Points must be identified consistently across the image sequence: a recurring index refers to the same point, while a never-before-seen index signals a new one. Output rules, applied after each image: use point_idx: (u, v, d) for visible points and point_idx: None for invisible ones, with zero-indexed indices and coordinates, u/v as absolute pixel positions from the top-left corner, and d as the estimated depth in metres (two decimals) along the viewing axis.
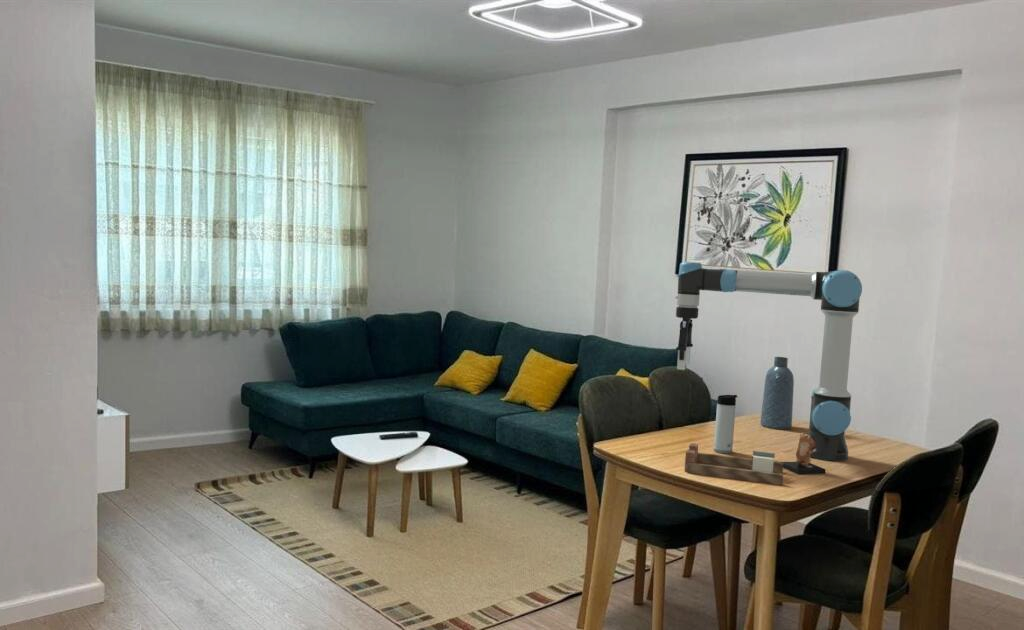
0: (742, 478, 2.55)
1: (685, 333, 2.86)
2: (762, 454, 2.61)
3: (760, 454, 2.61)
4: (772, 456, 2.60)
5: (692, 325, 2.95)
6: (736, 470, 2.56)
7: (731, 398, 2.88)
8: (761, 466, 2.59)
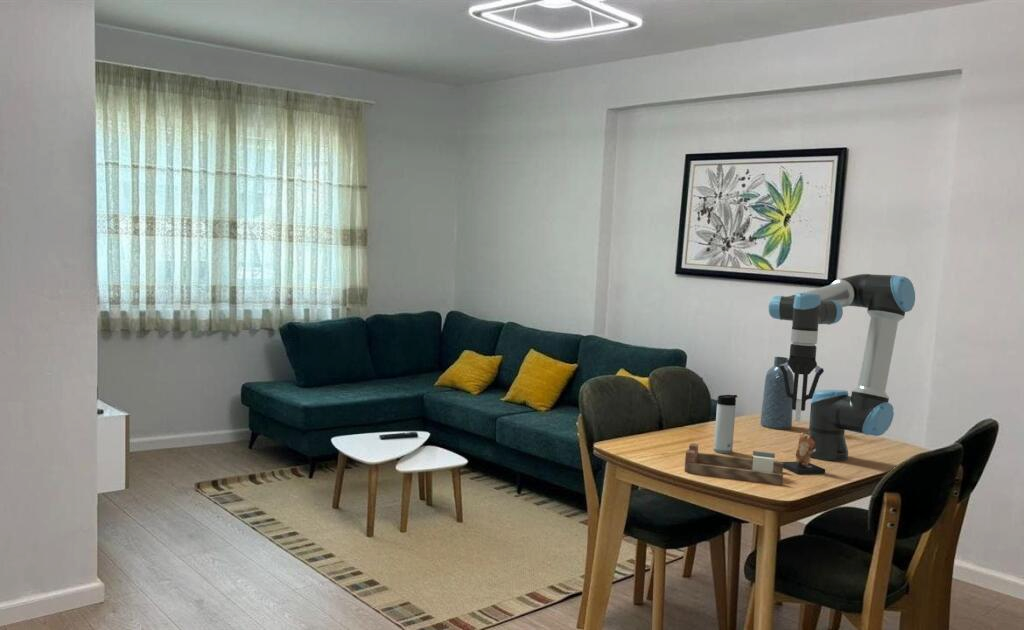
0: (742, 478, 2.55)
1: None
2: (762, 454, 2.61)
3: (760, 454, 2.61)
4: (772, 456, 2.60)
5: (807, 367, 2.54)
6: (736, 470, 2.56)
7: (731, 398, 2.88)
8: (761, 466, 2.59)
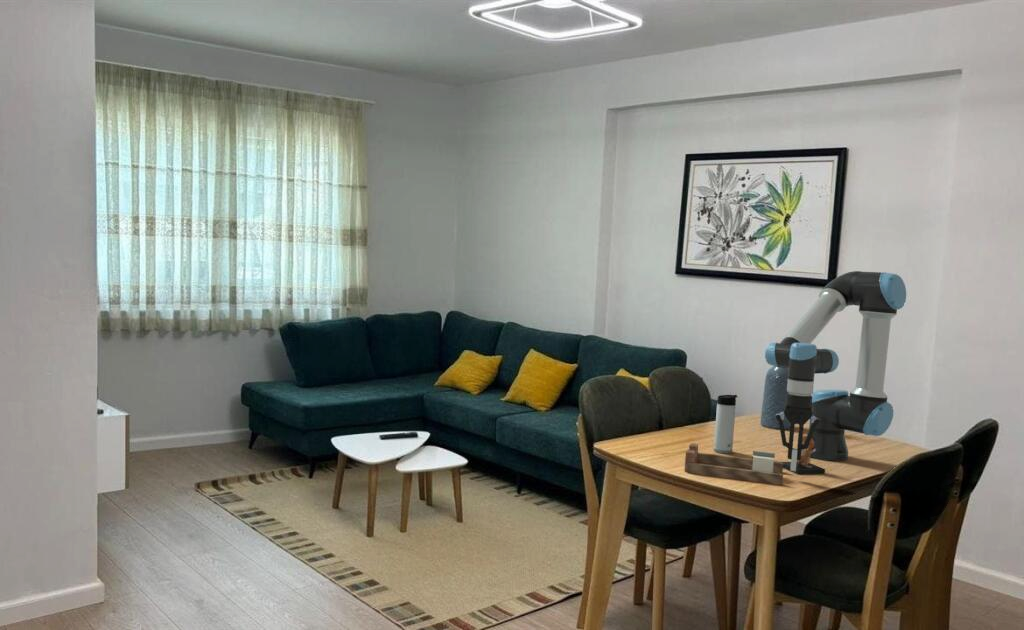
0: (742, 478, 2.55)
1: None
2: (762, 454, 2.61)
3: (760, 454, 2.61)
4: (772, 456, 2.60)
5: (803, 417, 2.55)
6: (736, 470, 2.56)
7: (731, 398, 2.88)
8: (761, 466, 2.59)
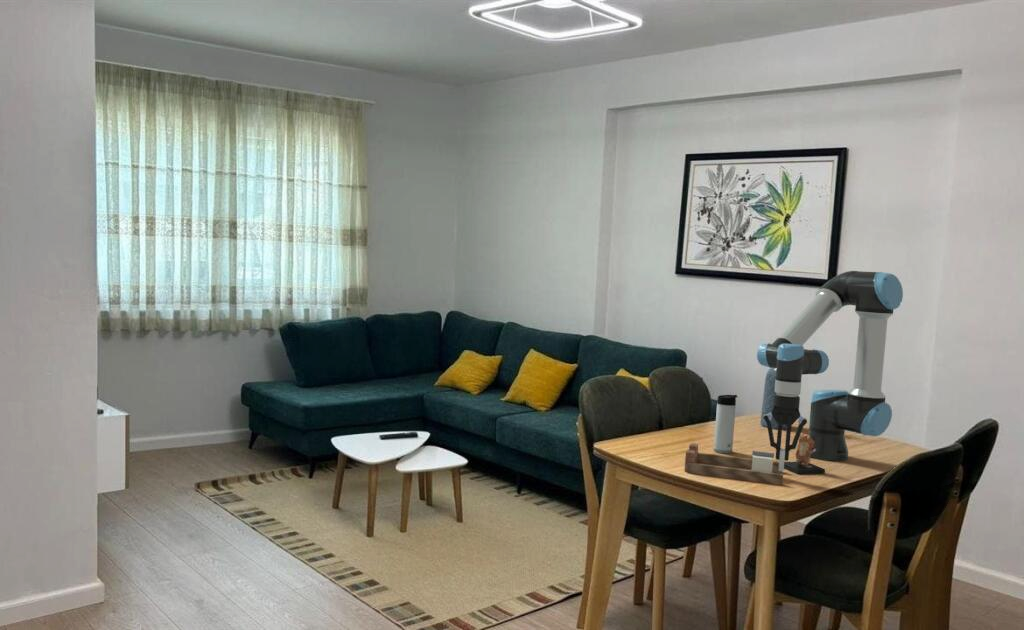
0: (742, 478, 2.55)
1: None
2: (761, 454, 2.61)
3: (759, 454, 2.61)
4: (771, 456, 2.60)
5: (790, 418, 2.56)
6: (736, 470, 2.56)
7: (731, 398, 2.88)
8: (760, 466, 2.59)
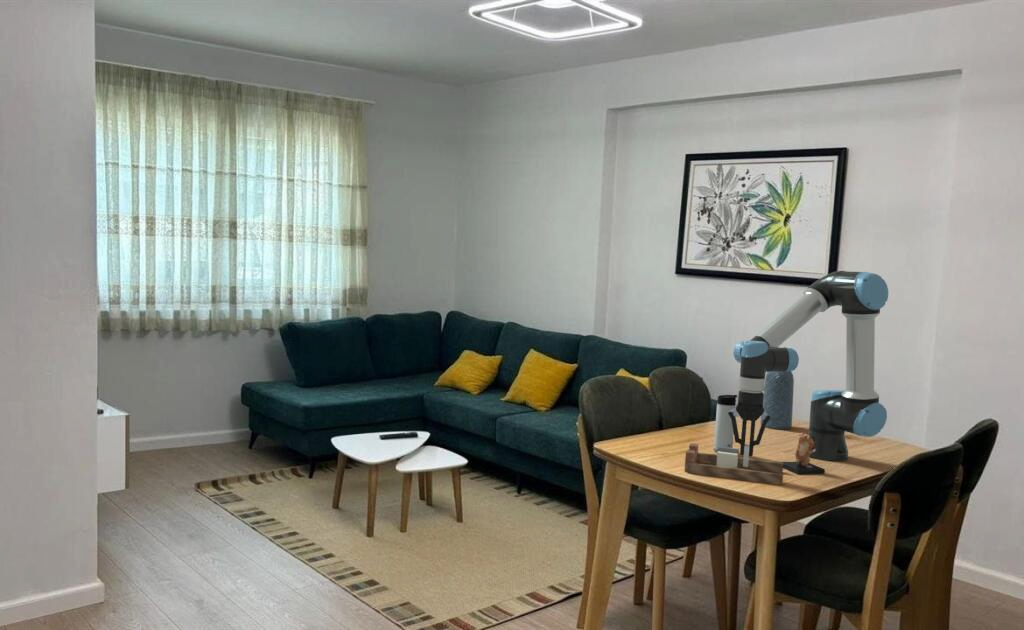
0: (742, 478, 2.55)
1: (732, 425, 2.63)
2: (726, 450, 2.64)
3: (724, 450, 2.64)
4: (736, 452, 2.63)
5: (754, 414, 2.60)
6: (736, 470, 2.56)
7: (731, 398, 2.88)
8: (725, 462, 2.62)
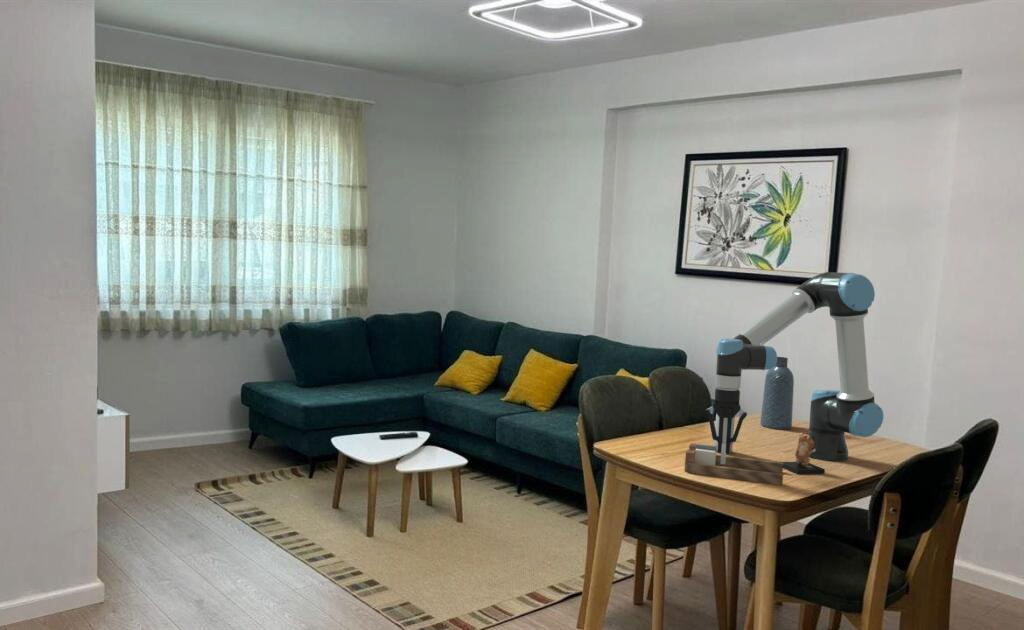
0: (742, 478, 2.55)
1: (709, 422, 2.65)
2: (704, 447, 2.66)
3: (702, 447, 2.66)
4: (714, 449, 2.65)
5: (731, 411, 2.62)
6: (736, 470, 2.56)
7: None
8: (702, 459, 2.64)
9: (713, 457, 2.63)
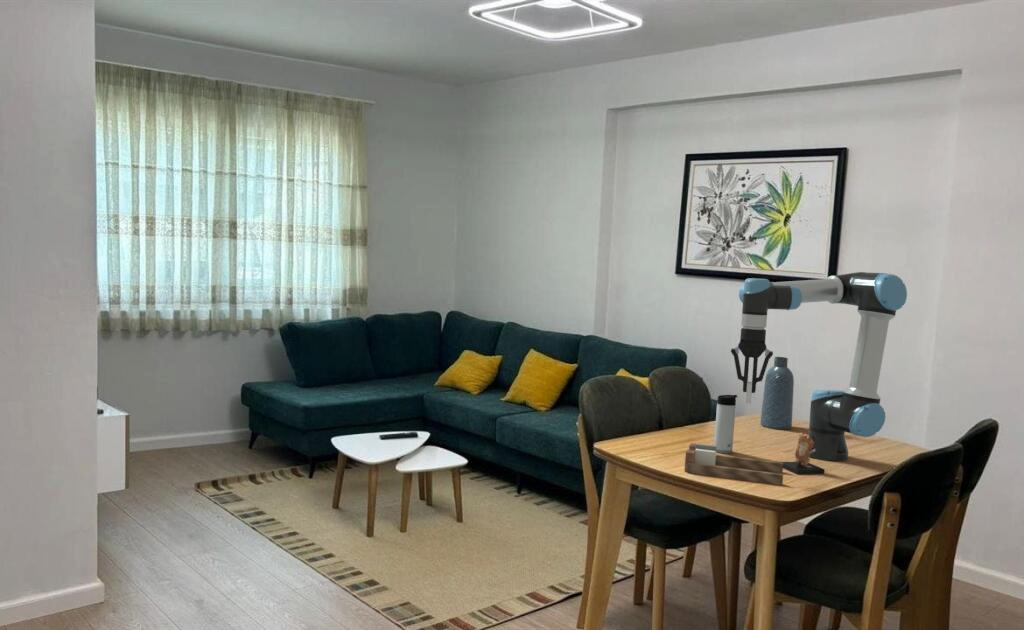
0: (742, 478, 2.55)
1: (735, 362, 2.65)
2: (704, 447, 2.66)
3: (702, 447, 2.66)
4: (714, 449, 2.65)
5: (757, 351, 2.61)
6: (736, 470, 2.56)
7: (731, 398, 2.88)
8: (702, 459, 2.64)
9: (713, 457, 2.63)
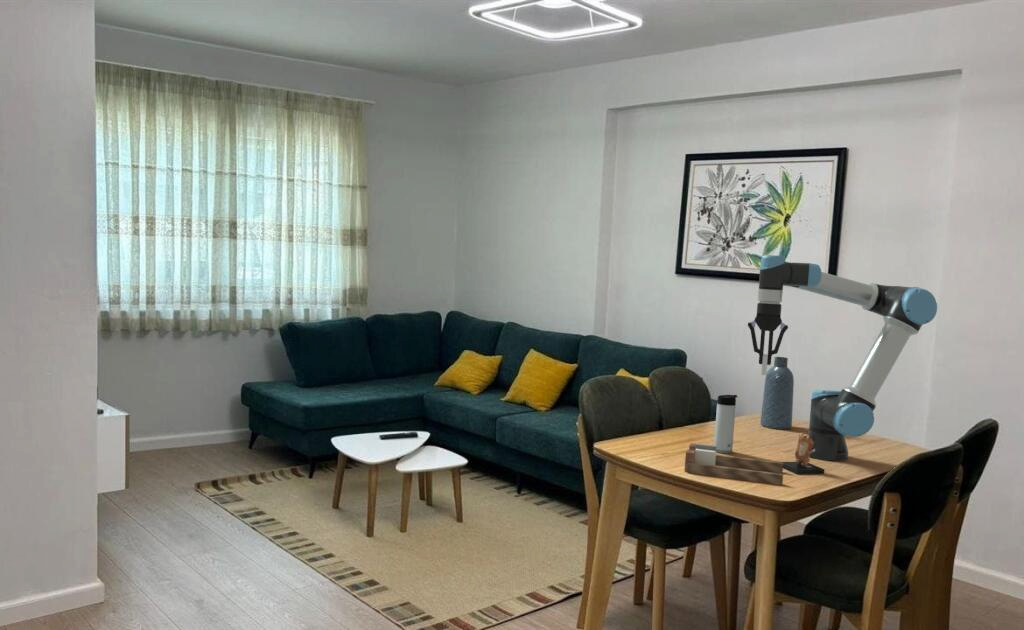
0: (742, 478, 2.55)
1: (751, 335, 2.76)
2: (704, 447, 2.66)
3: (702, 447, 2.66)
4: (714, 449, 2.65)
5: (772, 324, 2.73)
6: (736, 470, 2.56)
7: (731, 398, 2.88)
8: (702, 459, 2.64)
9: (713, 457, 2.63)
